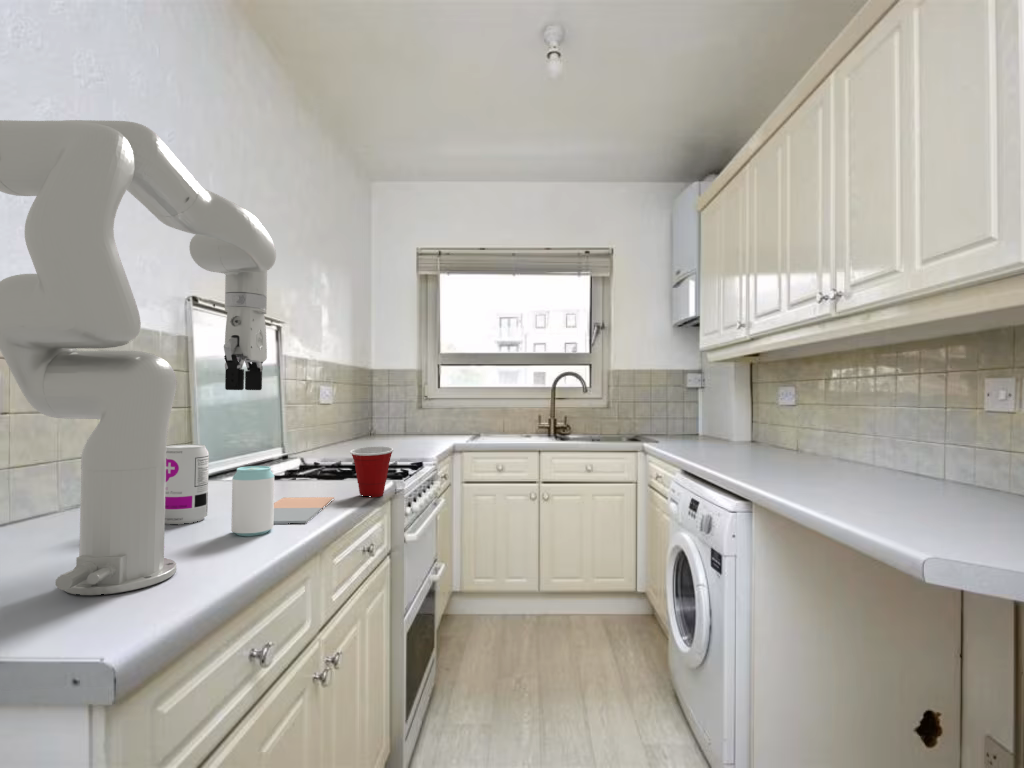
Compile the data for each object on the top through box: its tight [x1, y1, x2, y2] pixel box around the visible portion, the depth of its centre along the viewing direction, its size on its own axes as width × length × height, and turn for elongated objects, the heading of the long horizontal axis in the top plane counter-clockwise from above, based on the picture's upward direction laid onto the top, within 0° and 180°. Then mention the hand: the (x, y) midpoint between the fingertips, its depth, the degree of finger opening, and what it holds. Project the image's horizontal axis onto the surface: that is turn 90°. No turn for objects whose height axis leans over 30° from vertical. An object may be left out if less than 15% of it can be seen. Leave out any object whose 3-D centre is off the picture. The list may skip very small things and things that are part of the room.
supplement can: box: [165, 443, 210, 525], centre depth 108 cm, size 8×8×15 cm
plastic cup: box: [349, 445, 394, 498], centre depth 136 cm, size 11×11×12 cm
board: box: [273, 496, 335, 525], centre depth 117 cm, size 24×12×1 cm, turn 6°
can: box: [230, 465, 275, 537], centre depth 99 cm, size 7×7×12 cm
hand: (244, 390), depth 107 cm, fingers open, 9 cm apart
